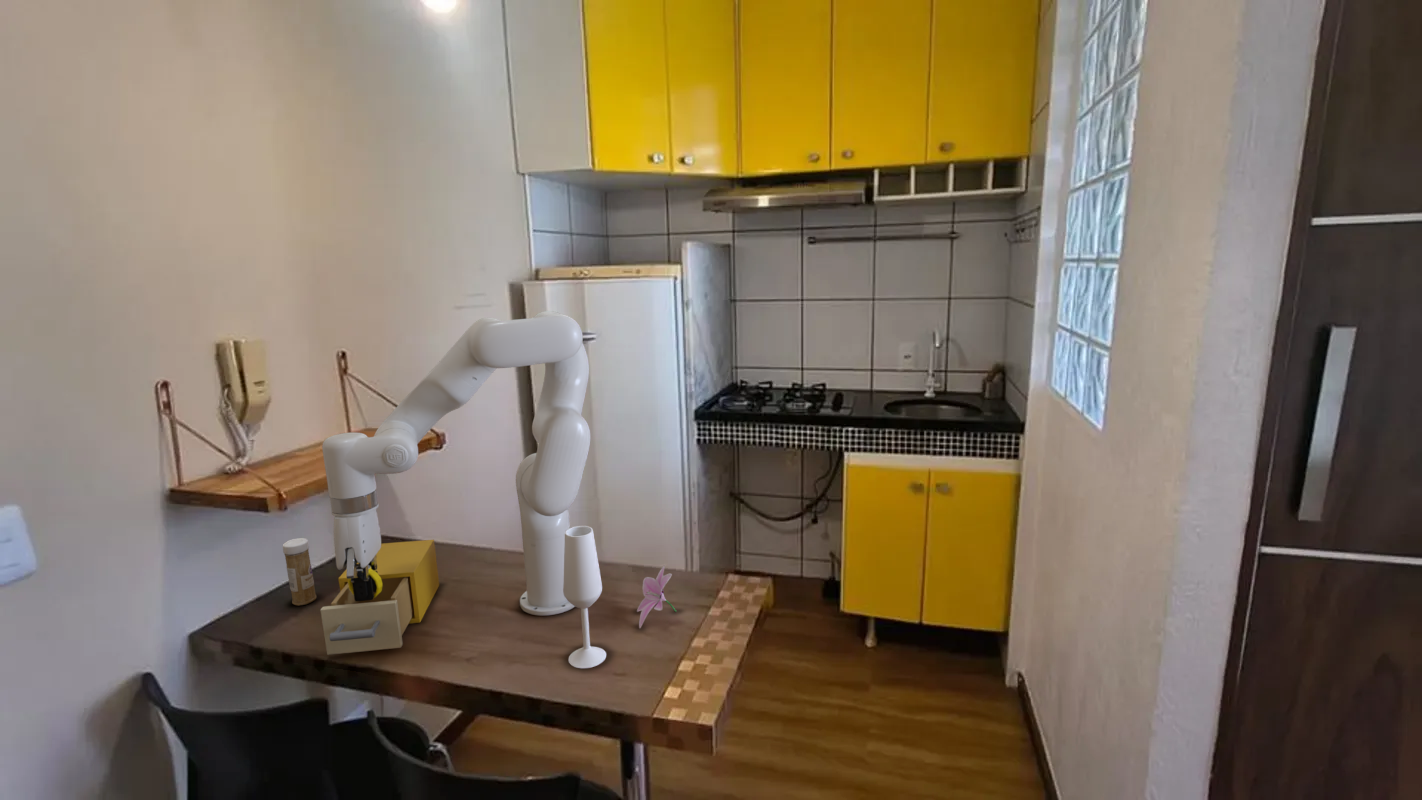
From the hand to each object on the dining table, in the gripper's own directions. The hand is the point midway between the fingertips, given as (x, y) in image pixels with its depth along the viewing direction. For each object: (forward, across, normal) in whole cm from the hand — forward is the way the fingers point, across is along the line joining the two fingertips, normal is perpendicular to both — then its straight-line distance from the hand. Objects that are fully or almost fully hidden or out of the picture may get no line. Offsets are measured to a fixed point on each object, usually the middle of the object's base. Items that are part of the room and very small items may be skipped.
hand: (367, 595), depth 125 cm
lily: (+10, 0, +53) cm, 54 cm away
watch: (+1, 0, 0) cm, 1 cm away
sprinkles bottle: (+10, -20, -20) cm, 30 cm away
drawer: (+9, 0, 0) cm, 9 cm away
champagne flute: (+10, +12, +40) cm, 43 cm away
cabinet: (+10, -14, 0) cm, 17 cm away
